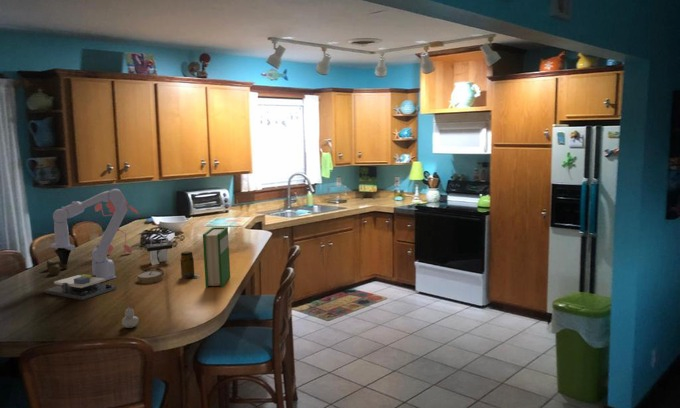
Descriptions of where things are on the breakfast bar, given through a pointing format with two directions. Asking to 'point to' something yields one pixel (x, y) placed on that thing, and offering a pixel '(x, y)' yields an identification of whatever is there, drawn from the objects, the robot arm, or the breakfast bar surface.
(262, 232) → the breakfast bar surface
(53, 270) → the kendama
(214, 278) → the hardback book
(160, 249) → the black-topped pedestal
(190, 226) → the breakfast bar surface
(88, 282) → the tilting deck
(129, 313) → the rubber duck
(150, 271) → the alarm clock
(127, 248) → the figurine
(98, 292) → the base
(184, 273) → the condiment
